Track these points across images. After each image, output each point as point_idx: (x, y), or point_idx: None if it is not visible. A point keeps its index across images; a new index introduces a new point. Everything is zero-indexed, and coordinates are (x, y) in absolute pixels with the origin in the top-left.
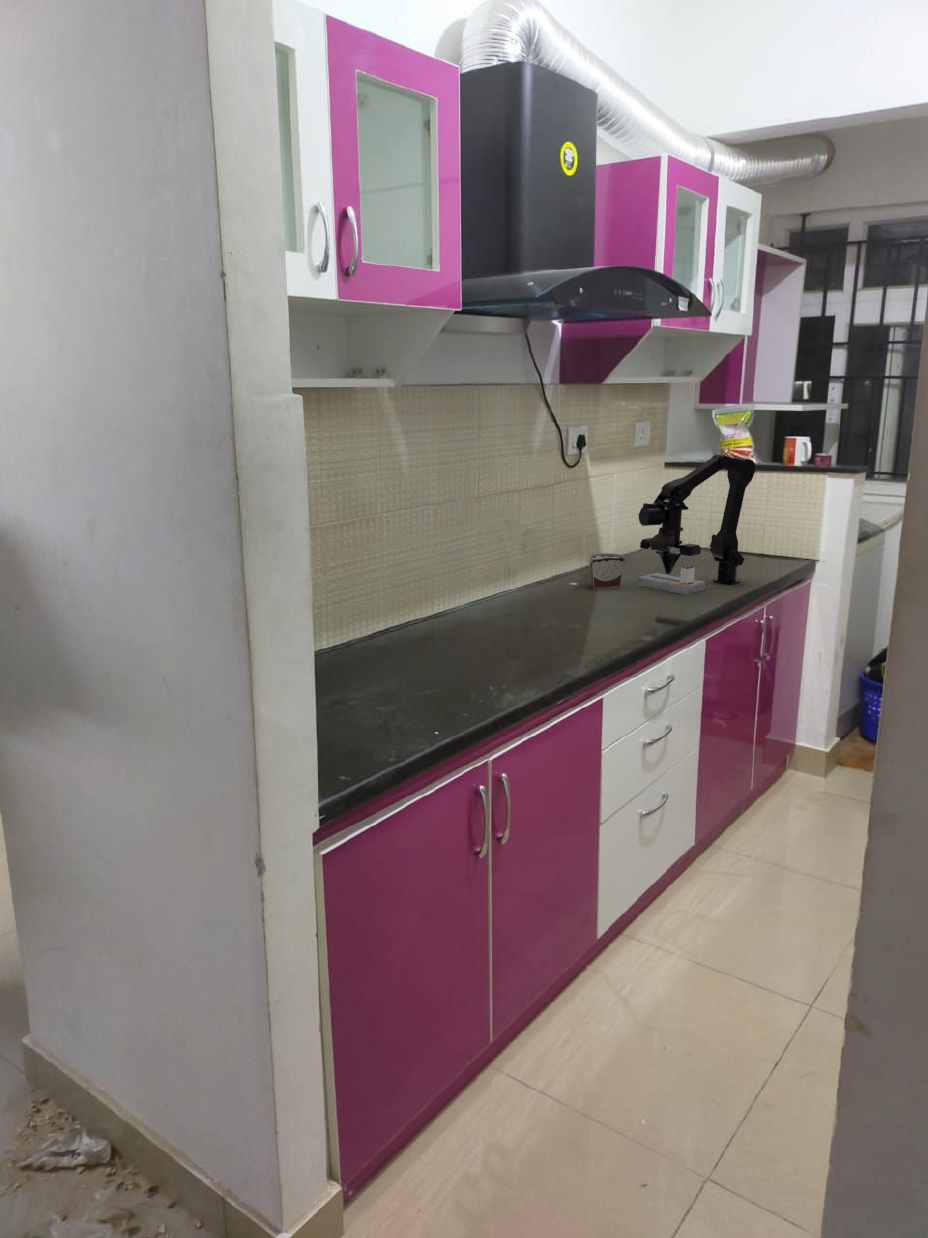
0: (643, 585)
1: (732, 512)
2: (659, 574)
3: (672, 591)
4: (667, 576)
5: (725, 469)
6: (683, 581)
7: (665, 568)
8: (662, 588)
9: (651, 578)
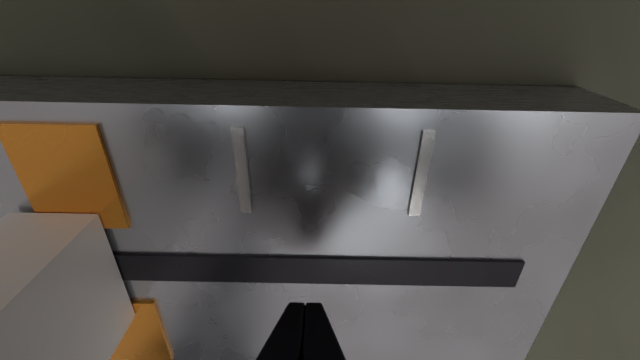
0: (507, 87)
1: None
2: (469, 351)
3: (135, 78)
4: (374, 336)
5: None
6: (40, 224)
7: (328, 356)
8: (261, 85)
9: (466, 180)
